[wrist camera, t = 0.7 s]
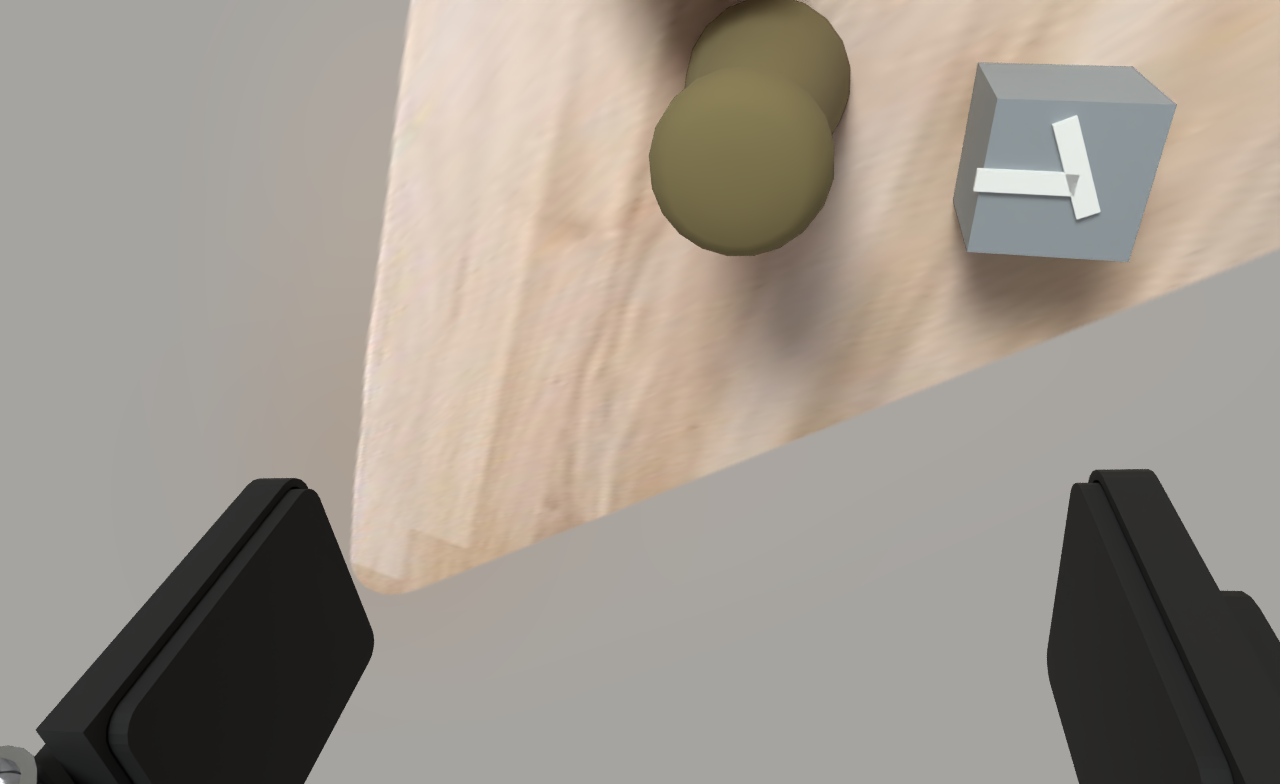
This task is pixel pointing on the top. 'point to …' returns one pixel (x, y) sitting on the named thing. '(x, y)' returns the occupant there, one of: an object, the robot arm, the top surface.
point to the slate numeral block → (1059, 159)
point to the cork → (752, 129)
